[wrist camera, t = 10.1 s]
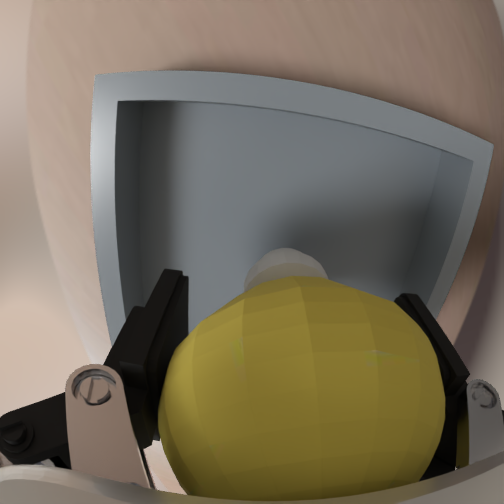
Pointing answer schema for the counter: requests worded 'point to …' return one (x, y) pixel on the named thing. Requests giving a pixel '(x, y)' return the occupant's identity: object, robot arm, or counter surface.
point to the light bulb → (301, 391)
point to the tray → (273, 187)
